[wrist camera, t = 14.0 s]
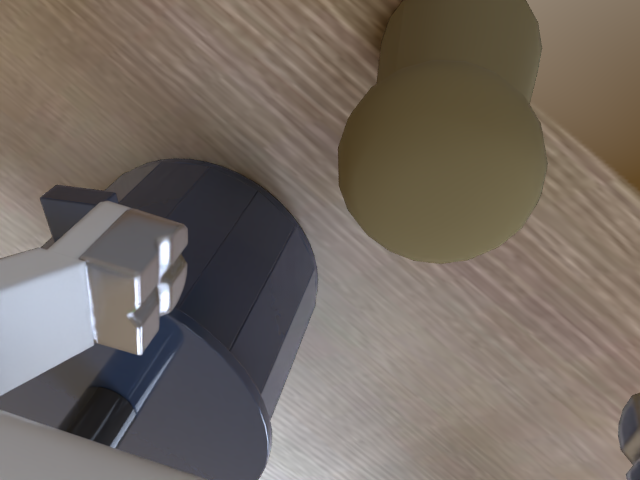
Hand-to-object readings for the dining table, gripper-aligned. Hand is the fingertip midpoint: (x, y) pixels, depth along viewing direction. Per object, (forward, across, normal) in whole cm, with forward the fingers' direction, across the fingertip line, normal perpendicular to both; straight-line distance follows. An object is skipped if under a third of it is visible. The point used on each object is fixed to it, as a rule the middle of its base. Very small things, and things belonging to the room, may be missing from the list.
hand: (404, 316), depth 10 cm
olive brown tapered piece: (+15, 0, 0) cm, 16 cm away
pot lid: (+6, +10, +14) cm, 18 cm away
